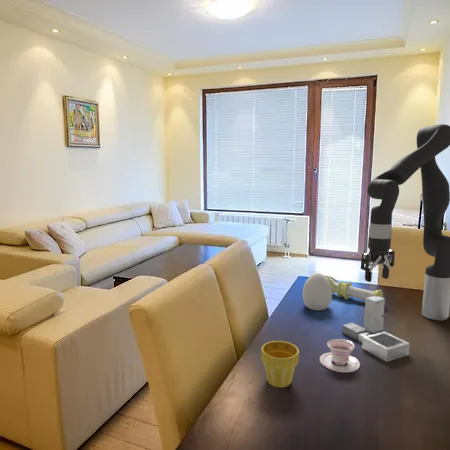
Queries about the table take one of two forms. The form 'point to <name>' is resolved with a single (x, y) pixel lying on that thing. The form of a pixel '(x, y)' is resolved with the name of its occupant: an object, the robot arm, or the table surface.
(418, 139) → the robot arm
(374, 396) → the table surface
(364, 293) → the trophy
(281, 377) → the plant pot
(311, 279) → the decorative egg
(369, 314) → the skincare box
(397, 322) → the table surface
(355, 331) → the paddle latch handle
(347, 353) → the teacup
